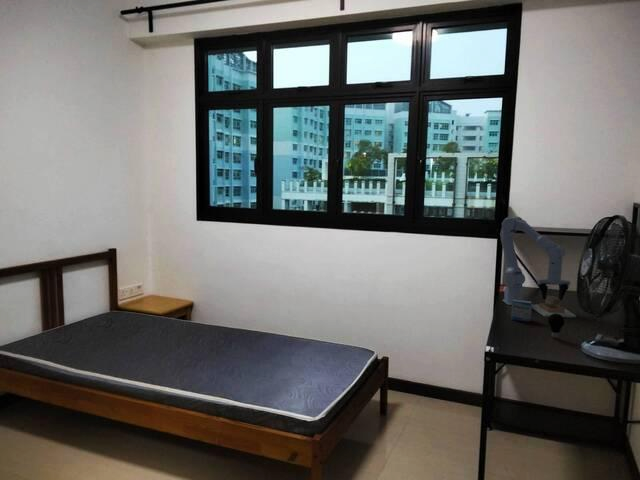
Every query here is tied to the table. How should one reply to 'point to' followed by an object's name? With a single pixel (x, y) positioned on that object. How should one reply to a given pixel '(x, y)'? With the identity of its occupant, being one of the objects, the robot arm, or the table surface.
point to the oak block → (552, 302)
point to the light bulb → (556, 324)
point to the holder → (551, 310)
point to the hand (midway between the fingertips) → (552, 299)
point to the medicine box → (521, 310)
